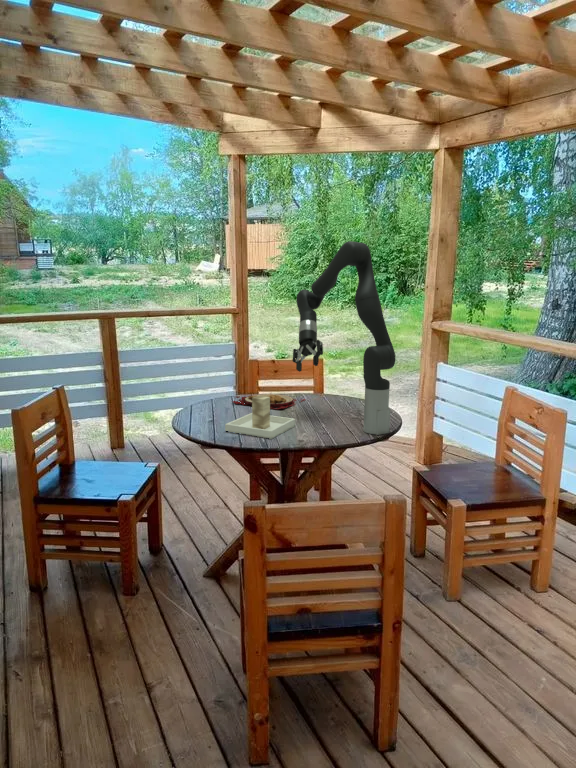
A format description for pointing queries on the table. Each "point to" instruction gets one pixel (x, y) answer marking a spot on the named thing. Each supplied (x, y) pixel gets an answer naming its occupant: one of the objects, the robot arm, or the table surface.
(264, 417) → the block
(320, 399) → the table surface
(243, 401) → the plate with food
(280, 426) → the tray
